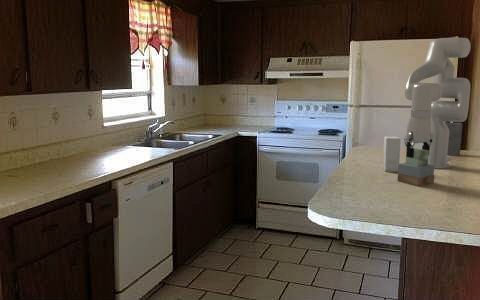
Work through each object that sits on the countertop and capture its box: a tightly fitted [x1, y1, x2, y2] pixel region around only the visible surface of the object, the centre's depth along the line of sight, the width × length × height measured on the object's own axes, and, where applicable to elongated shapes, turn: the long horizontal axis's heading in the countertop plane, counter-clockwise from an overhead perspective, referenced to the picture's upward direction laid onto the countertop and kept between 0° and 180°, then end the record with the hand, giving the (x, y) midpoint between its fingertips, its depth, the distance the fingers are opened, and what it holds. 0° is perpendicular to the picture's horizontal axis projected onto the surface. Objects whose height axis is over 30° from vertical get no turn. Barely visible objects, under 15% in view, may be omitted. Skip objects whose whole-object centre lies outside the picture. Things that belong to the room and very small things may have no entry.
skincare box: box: [382, 135, 401, 173], centre depth 208 cm, size 8×7×16 cm
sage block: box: [405, 148, 429, 166], centre depth 185 cm, size 6×6×6 cm
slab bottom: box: [397, 172, 435, 187], centre depth 186 cm, size 10×10×4 cm
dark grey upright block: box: [444, 121, 463, 157], centre depth 248 cm, size 15×6×20 cm, turn 65°
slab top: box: [397, 161, 435, 178], centre depth 186 cm, size 10×10×4 cm
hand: (417, 156), depth 185 cm, fingers open, 9 cm apart
